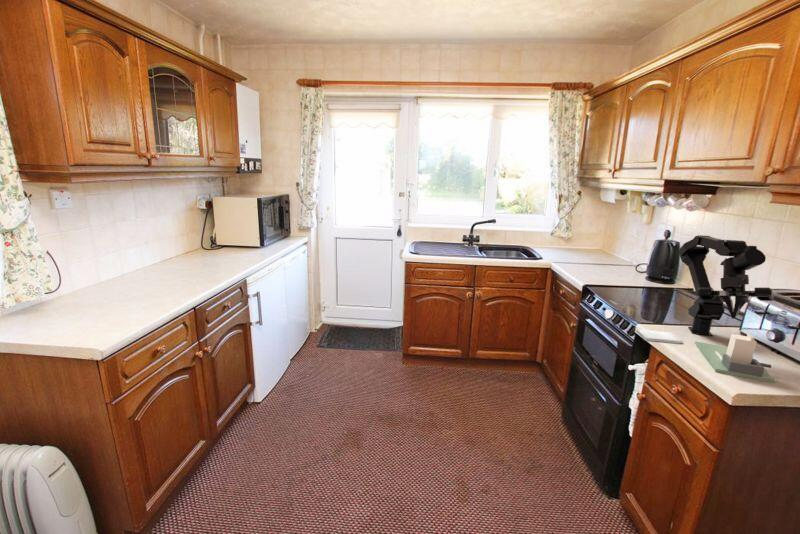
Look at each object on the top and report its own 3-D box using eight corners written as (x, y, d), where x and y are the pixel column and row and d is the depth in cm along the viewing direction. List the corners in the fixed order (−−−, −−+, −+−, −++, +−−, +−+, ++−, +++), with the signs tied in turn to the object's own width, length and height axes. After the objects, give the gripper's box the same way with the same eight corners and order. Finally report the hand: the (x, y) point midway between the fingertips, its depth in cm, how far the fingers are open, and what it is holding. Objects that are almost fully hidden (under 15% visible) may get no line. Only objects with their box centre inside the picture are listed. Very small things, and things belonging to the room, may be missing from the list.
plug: (724, 359, 123) (732, 331, 120) (766, 367, 119) (774, 337, 116) (729, 365, 119) (736, 335, 117) (772, 373, 115) (781, 342, 113)
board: (694, 343, 137) (695, 340, 136) (744, 352, 131) (745, 348, 131) (715, 371, 117) (716, 367, 117) (774, 382, 112) (775, 378, 111)
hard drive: (645, 337, 138) (683, 341, 136) (635, 328, 146) (671, 332, 144) (644, 341, 139) (682, 345, 137) (635, 332, 147) (670, 336, 144)
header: (721, 362, 121) (723, 353, 120) (753, 368, 118) (755, 359, 117) (728, 370, 116) (730, 361, 115) (761, 377, 113) (764, 368, 112)
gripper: (694, 266, 132) (692, 309, 128) (769, 264, 118) (769, 312, 114) (702, 278, 139) (700, 319, 135) (773, 277, 125) (773, 322, 121)
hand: (733, 318), depth 126 cm, fingers closed
